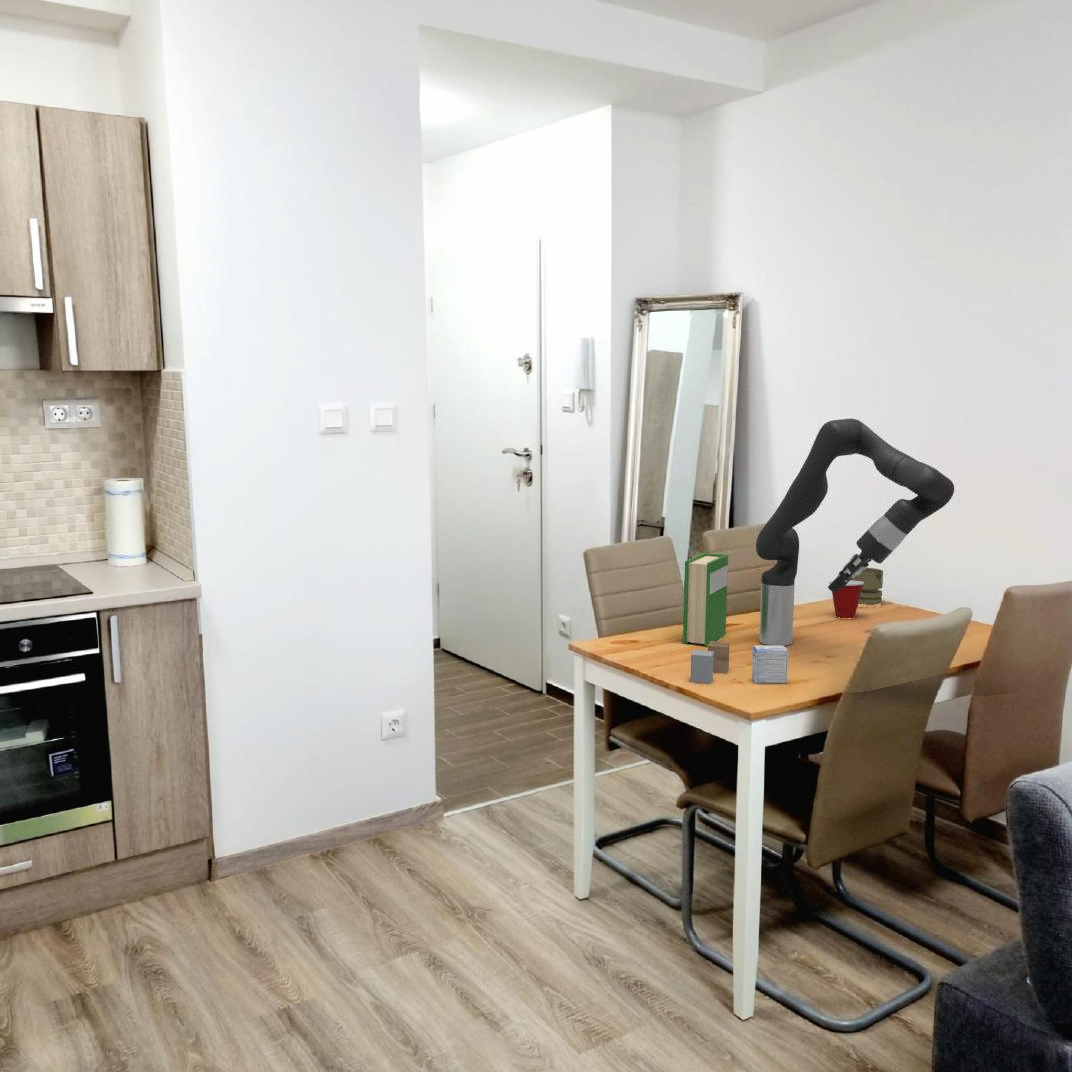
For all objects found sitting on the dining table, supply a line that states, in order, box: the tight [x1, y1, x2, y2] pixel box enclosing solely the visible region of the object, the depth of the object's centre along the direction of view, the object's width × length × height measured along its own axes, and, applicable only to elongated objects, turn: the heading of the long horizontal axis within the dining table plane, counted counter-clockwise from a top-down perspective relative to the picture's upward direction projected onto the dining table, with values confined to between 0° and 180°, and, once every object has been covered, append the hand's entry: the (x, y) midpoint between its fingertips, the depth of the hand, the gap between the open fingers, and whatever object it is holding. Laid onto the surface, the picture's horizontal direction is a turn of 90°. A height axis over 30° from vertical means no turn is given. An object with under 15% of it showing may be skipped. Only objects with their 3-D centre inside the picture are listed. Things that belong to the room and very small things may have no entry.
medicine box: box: [751, 645, 789, 685], centre depth 253 cm, size 8×4×9 cm, turn 92°
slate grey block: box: [689, 649, 714, 685], centre depth 254 cm, size 5×5×7 cm
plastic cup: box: [828, 580, 864, 618], centre depth 329 cm, size 11×11×12 cm
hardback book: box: [682, 552, 729, 648], centre depth 297 cm, size 18×7×24 cm, turn 154°
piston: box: [850, 567, 884, 605], centre depth 351 cm, size 11×12×11 cm
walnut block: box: [707, 641, 731, 675], centre depth 263 cm, size 5×5×7 cm
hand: (834, 588), depth 246 cm, fingers open, 8 cm apart
